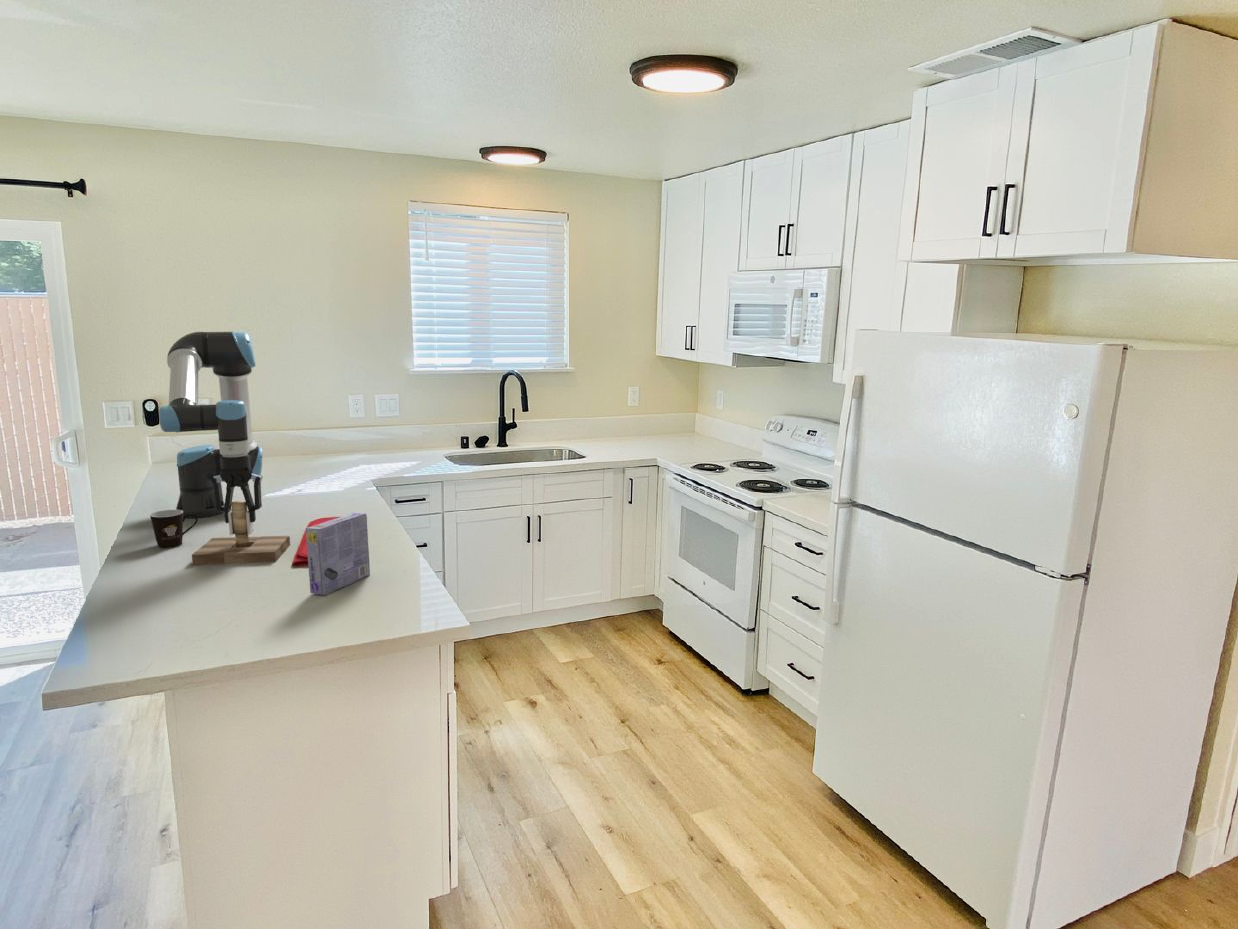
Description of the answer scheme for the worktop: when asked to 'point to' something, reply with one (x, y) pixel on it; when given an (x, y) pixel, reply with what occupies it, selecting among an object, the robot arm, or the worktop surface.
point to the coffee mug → (169, 527)
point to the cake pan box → (337, 553)
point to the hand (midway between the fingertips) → (241, 533)
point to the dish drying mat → (301, 553)
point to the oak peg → (240, 521)
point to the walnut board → (241, 550)
